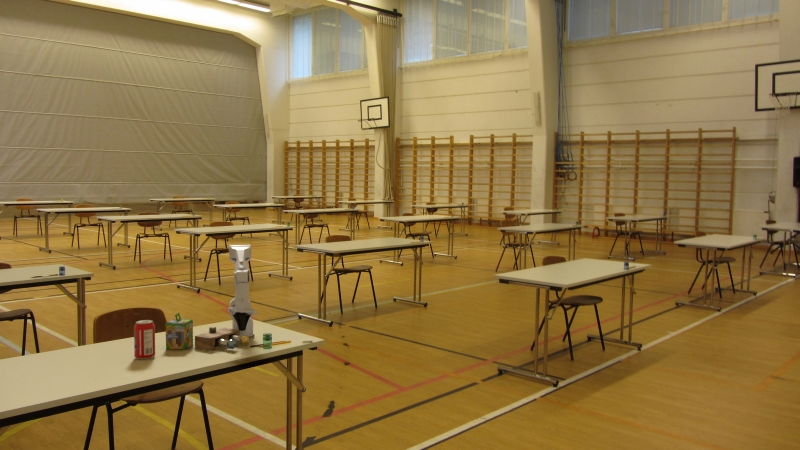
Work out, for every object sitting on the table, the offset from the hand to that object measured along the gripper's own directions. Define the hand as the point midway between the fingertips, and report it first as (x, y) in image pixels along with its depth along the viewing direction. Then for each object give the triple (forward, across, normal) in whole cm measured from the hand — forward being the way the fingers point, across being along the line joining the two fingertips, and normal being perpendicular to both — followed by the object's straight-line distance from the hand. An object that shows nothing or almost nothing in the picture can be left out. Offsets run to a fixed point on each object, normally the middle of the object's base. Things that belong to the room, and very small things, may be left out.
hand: (242, 330), depth 258 cm
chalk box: (+10, -30, -7) cm, 32 cm away
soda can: (+10, -28, -26) cm, 40 cm away
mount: (+9, -18, +4) cm, 21 cm away
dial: (+4, -21, +4) cm, 22 cm away
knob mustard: (+9, -11, +8) cm, 16 cm away
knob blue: (+9, -11, 0) cm, 14 cm away
